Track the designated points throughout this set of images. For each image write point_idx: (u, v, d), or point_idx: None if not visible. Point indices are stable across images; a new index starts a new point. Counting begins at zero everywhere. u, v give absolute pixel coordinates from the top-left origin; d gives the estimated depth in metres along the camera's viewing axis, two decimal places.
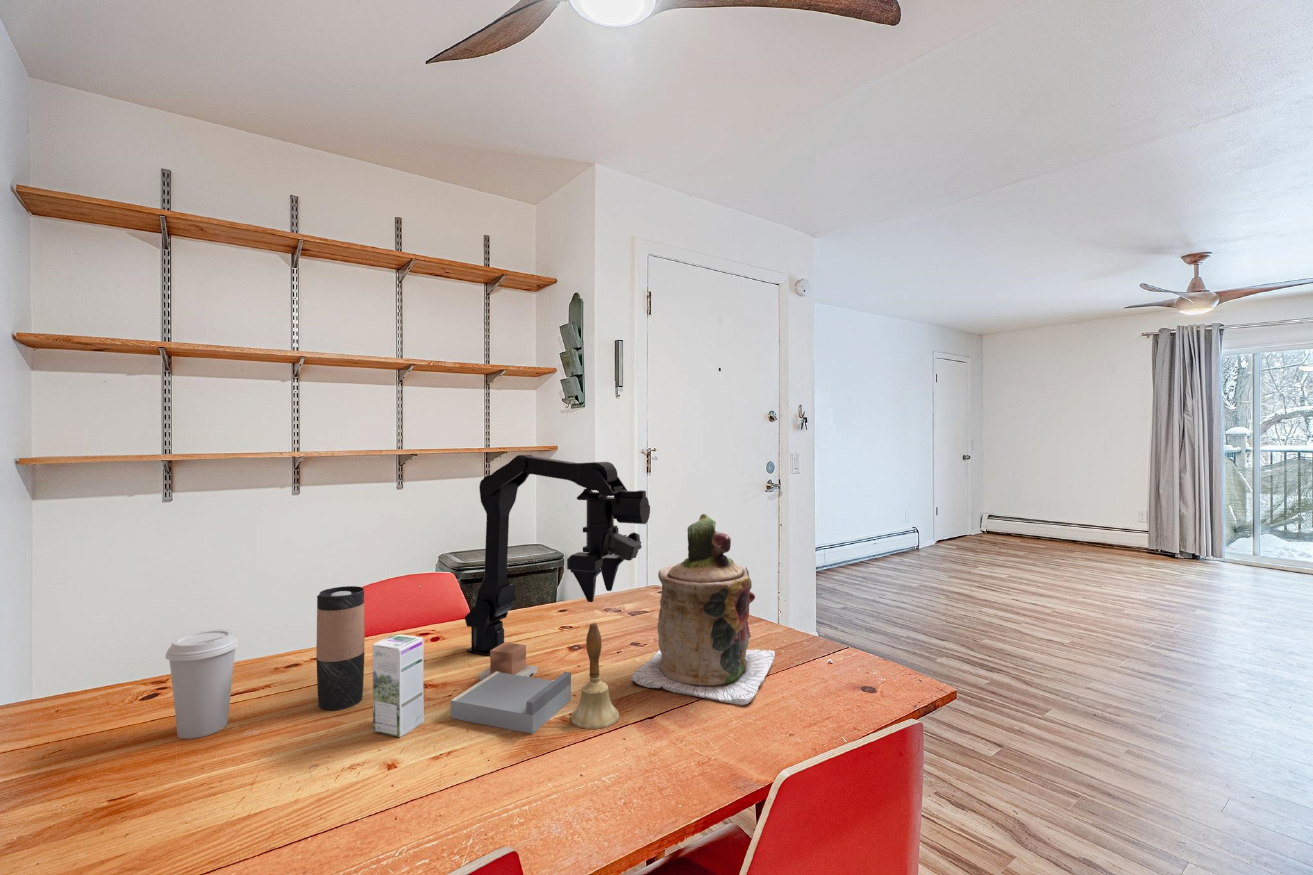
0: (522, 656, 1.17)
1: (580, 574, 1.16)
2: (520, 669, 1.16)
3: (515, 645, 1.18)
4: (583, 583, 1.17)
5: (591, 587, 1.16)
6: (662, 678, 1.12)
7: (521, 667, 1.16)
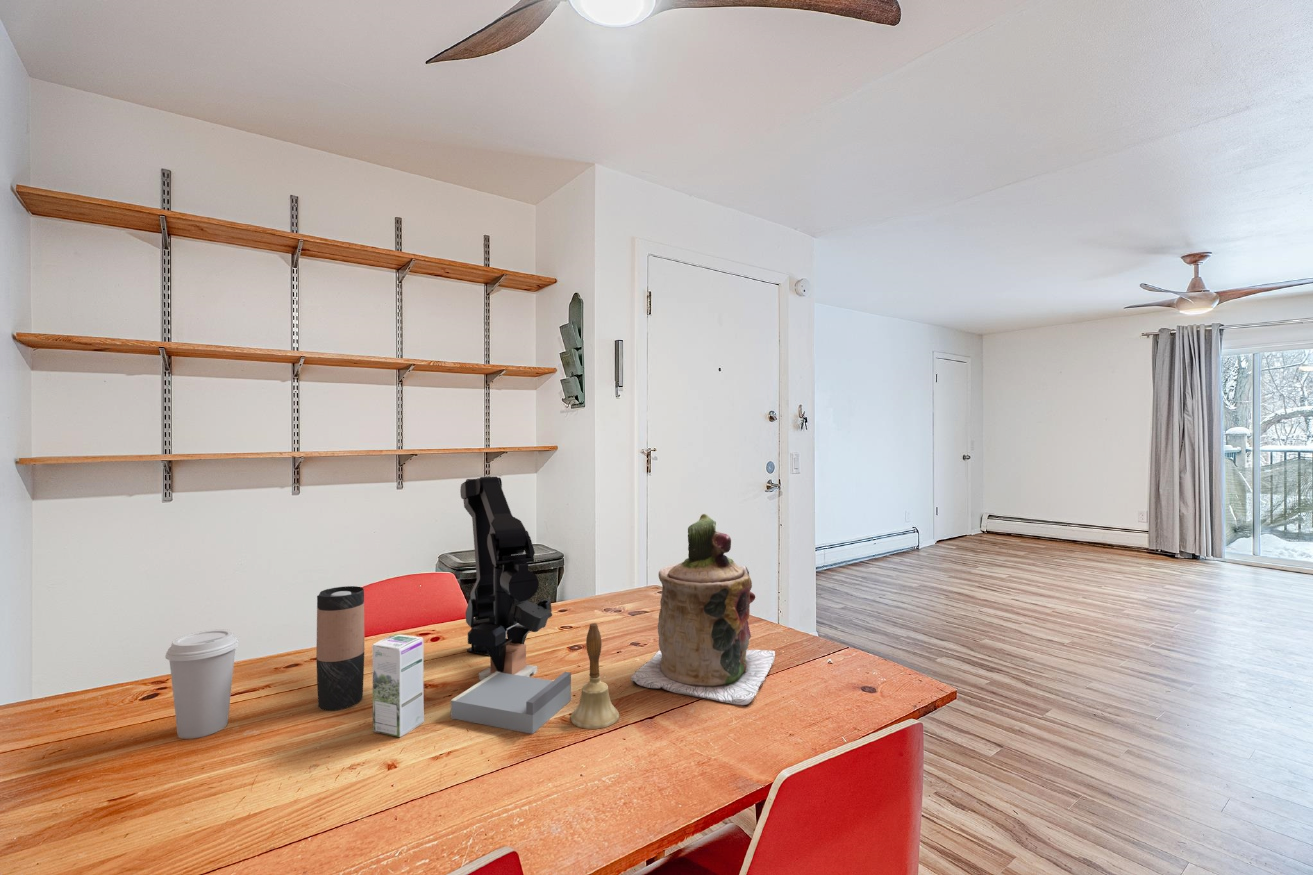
0: (522, 656, 1.17)
1: None
2: (520, 668, 1.16)
3: (516, 645, 1.18)
4: (492, 652, 1.13)
5: (500, 657, 1.13)
6: (662, 679, 1.12)
7: (521, 666, 1.16)
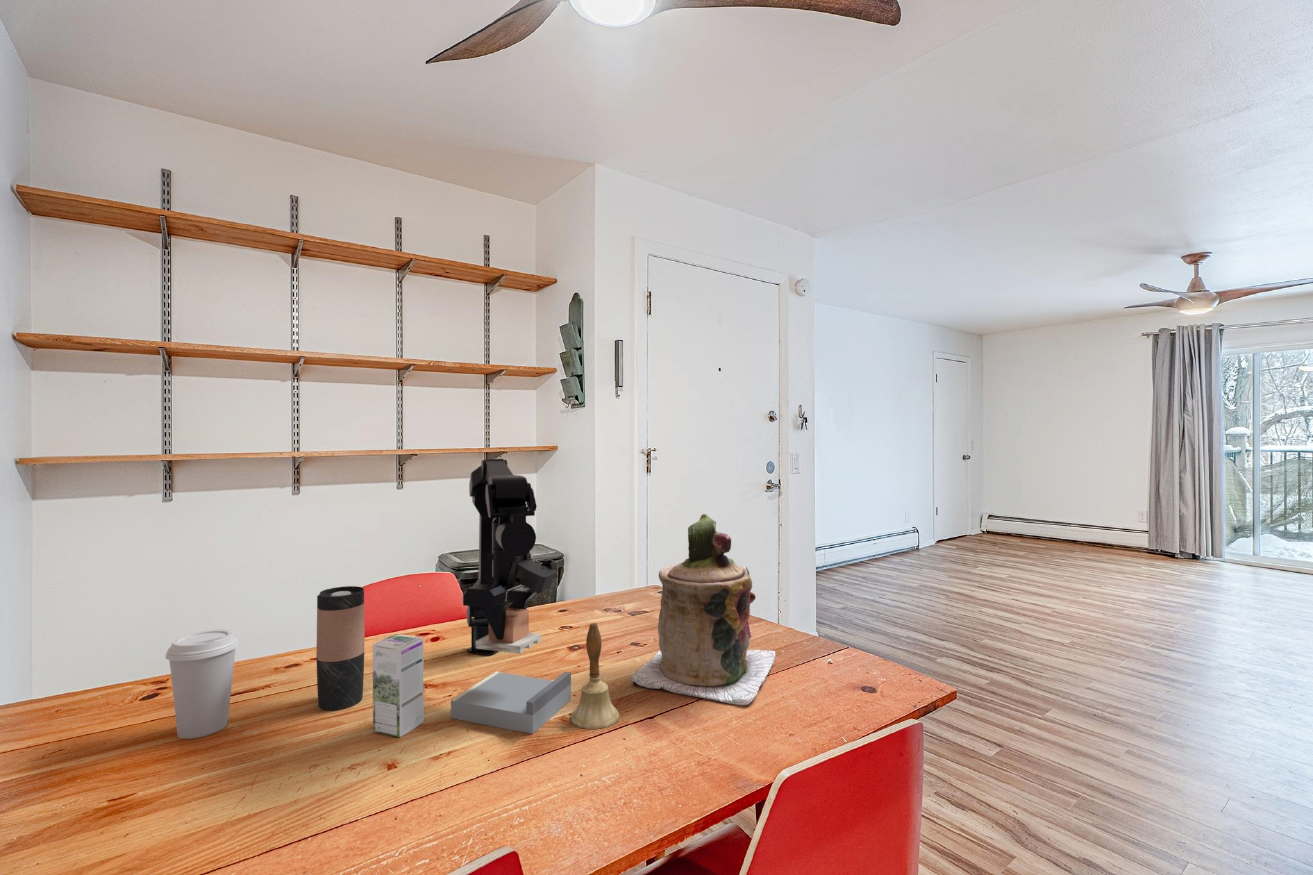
0: (525, 622, 1.04)
1: (487, 607, 1.00)
2: (522, 636, 1.03)
3: (517, 610, 1.05)
4: (491, 617, 1.00)
5: (500, 622, 1.00)
6: (662, 679, 1.12)
7: (523, 634, 1.04)
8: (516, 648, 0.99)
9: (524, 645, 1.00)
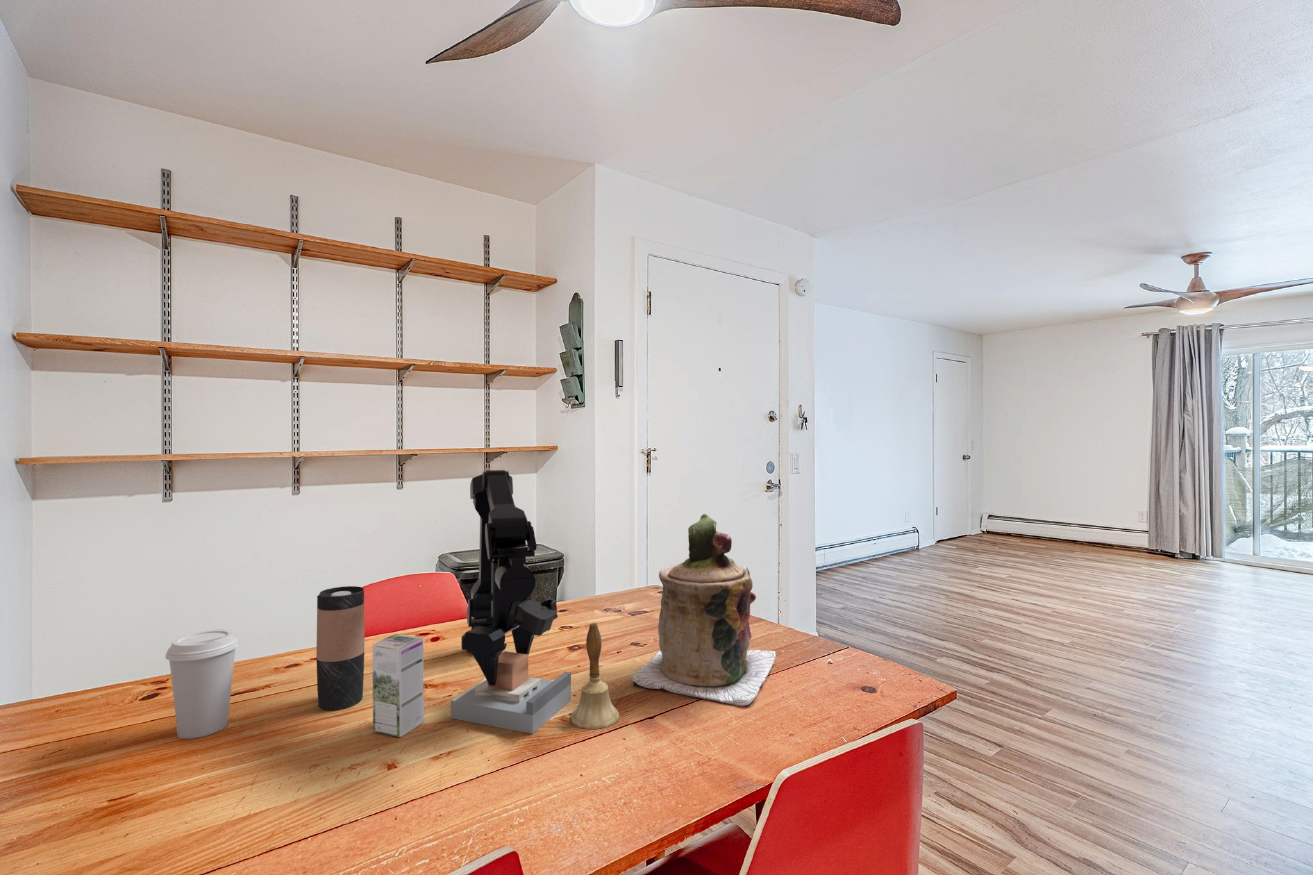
0: (524, 667, 1.03)
1: (479, 653, 0.97)
2: (522, 682, 1.02)
3: (517, 655, 1.04)
4: (483, 663, 0.97)
5: (492, 669, 0.97)
6: (663, 679, 1.12)
7: (523, 680, 1.03)
8: (515, 697, 0.98)
9: (523, 693, 0.99)
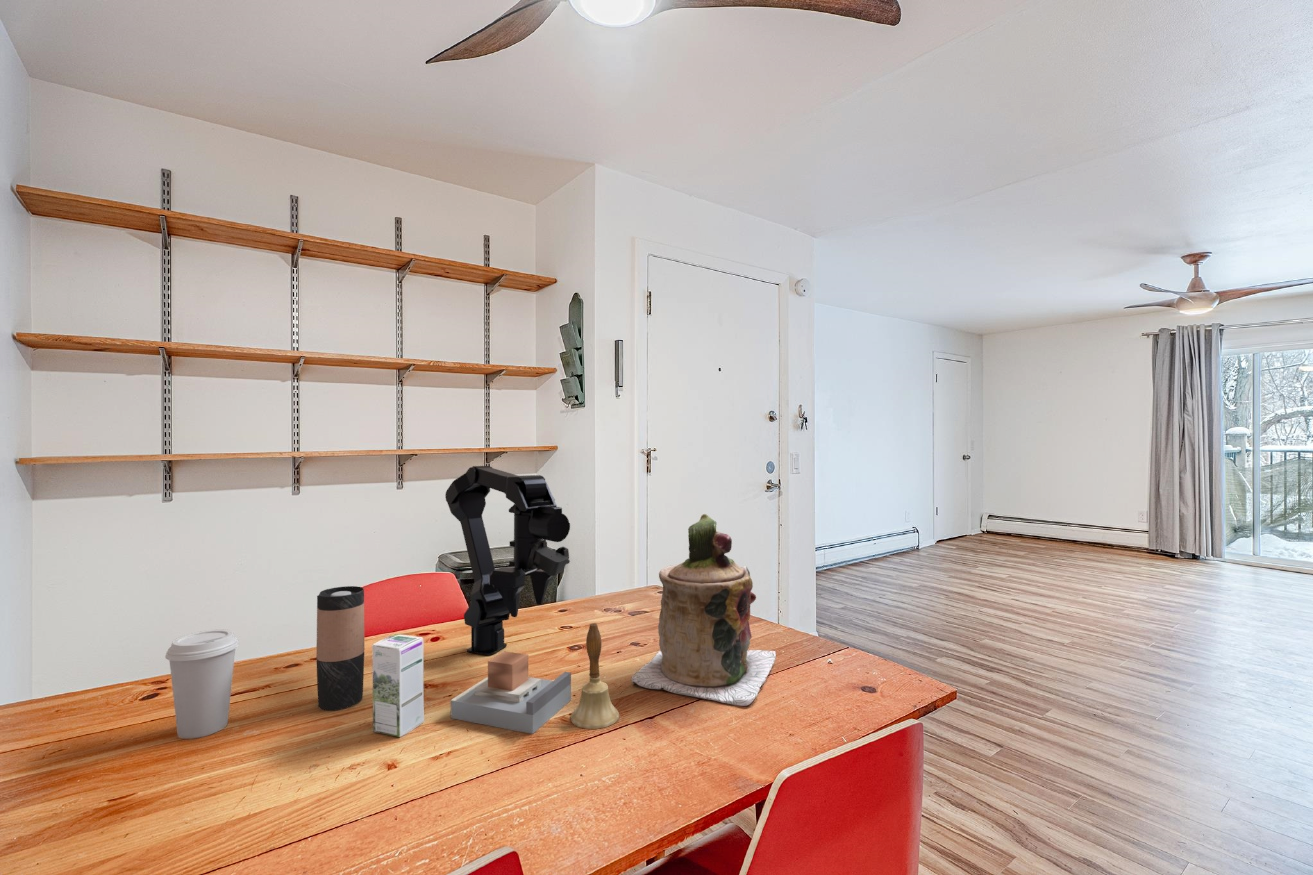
0: (524, 667, 1.03)
1: (503, 589, 1.16)
2: (522, 682, 1.02)
3: (517, 655, 1.04)
4: (507, 598, 1.16)
5: (514, 602, 1.15)
6: (663, 679, 1.12)
7: (523, 680, 1.03)
8: (515, 697, 0.98)
9: (523, 693, 0.99)
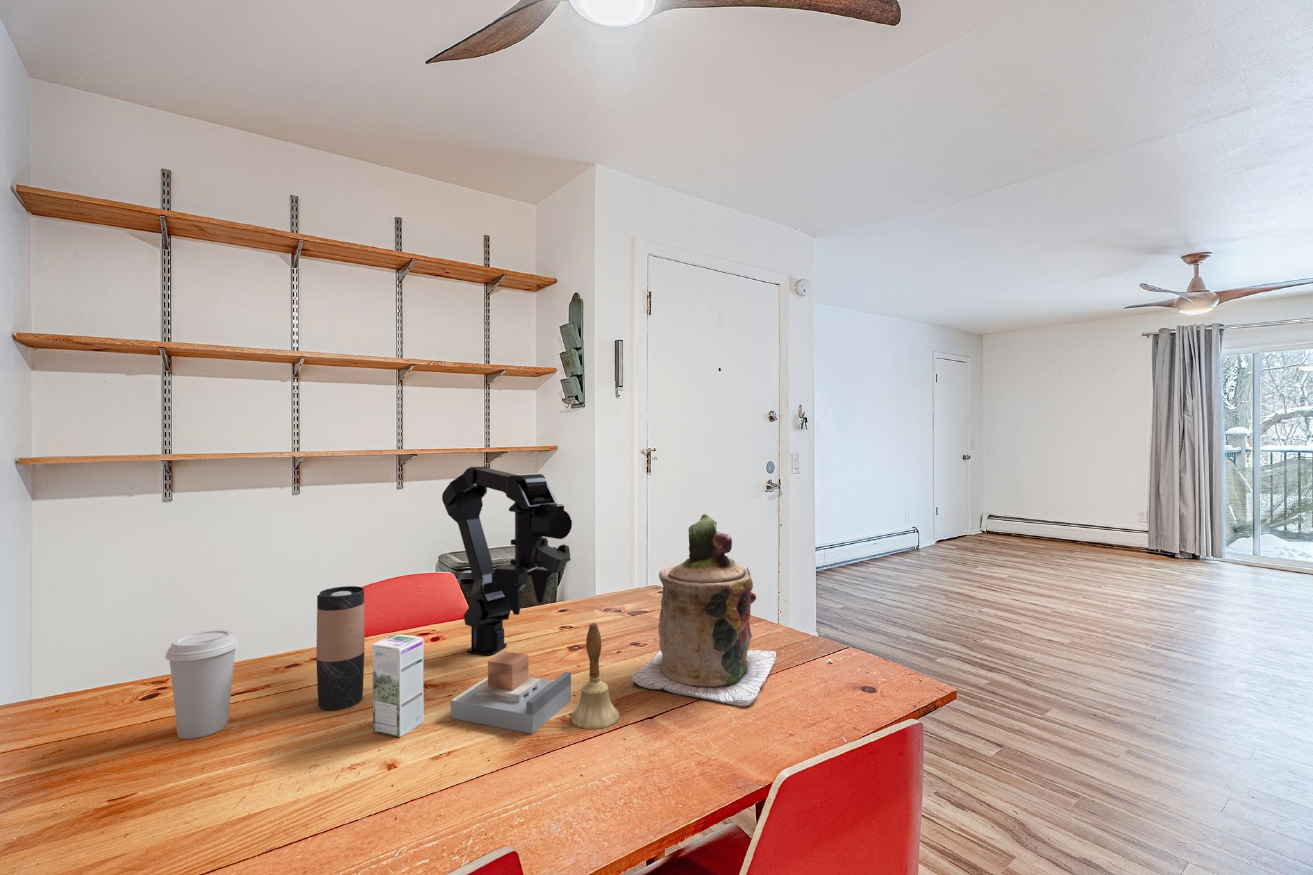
0: (524, 667, 1.03)
1: (505, 587, 1.16)
2: (522, 682, 1.02)
3: (517, 655, 1.04)
4: (509, 595, 1.17)
5: (516, 600, 1.16)
6: (663, 679, 1.12)
7: (523, 680, 1.03)
8: (515, 697, 0.98)
9: (523, 693, 0.99)
